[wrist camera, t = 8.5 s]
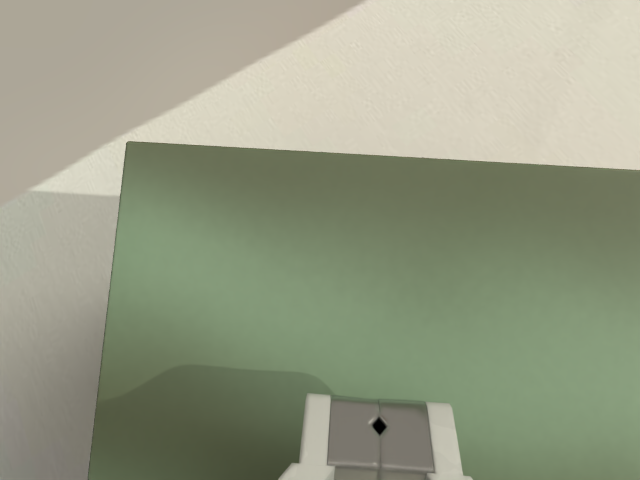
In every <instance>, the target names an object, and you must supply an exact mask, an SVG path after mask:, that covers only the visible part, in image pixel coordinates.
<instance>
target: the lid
mask: <svg viewBox="0 0 640 480" xmlns="http://www.w3.org/2000/svg"><path fill="white" fill-rule="evenodd" d="M307 393H313V394H326V395H337V396H347V397H358V398H368V399H396V400H414V401H424V402H437V403H449V404H450V405H451V407H452V410H453V416H454V422H455V428H456V434H457V440H458V446H459V452H460V459H461V465H462V471H463V476H471V477H472V479H473V480H640V170H627V169H609V168H592V167H574V166H556V165H539V164H521V163H503V162H486V161H468V160H450V159H433V158H415V157H397V156H380V155H362V154H344V153H327V152H309V151H291V150H274V149H256V148H239V147H221V146H203V145H186V144H168V143H150V142H133V141H129V142H127V143H126V151H125V159H124V168H123V177H122V185H121V194H120V203H119V212H118V220H117V229H116V238H115V246H114V255H113V264H112V272H111V281H110V290H109V298H108V307H107V316H106V324H105V333H104V342H103V350H102V359H101V368H100V376H99V385H98V394H97V402H96V411H95V420H94V428H93V437H92V446H91V454H90V463H89V472H88V480H278V479H279V478H280V476H281V475H282V474H283V473H284V472H285V470H286V469H287V468H288V467H289V466H290V464H291V463H299V457H300V447H301V438H302V428H303V419H304V409H305V400H306V396H307ZM330 408H331V404H330ZM329 424H330V422H329Z"/></svg>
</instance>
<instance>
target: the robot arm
mask: <svg viewBox="0 0 640 480" xmlns="http://www.w3.org/2000/svg"><path fill="white" fill-rule="evenodd" d="M330 404H331V408H330ZM329 422H330V424H329ZM278 480H473V479H472V477H471V476H463V471H462V465H461V459H460V452H459V446H458V440H457V434H456V428H455V422H454V416H453V410H452V407H451V405H450V404H449V403H437V402H424V401H414V400H396V399H368V398H358V397H347V396H337V395H326V394H313V393H307V396H306V400H305V409H304V419H303V428H302V438H301V447H300V457H299V463H291V464H290V466H289V467H288V468H287V469H286V470H285V472H284V473H283V474H282V475H281V476H280V478H279V479H278Z"/></svg>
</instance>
